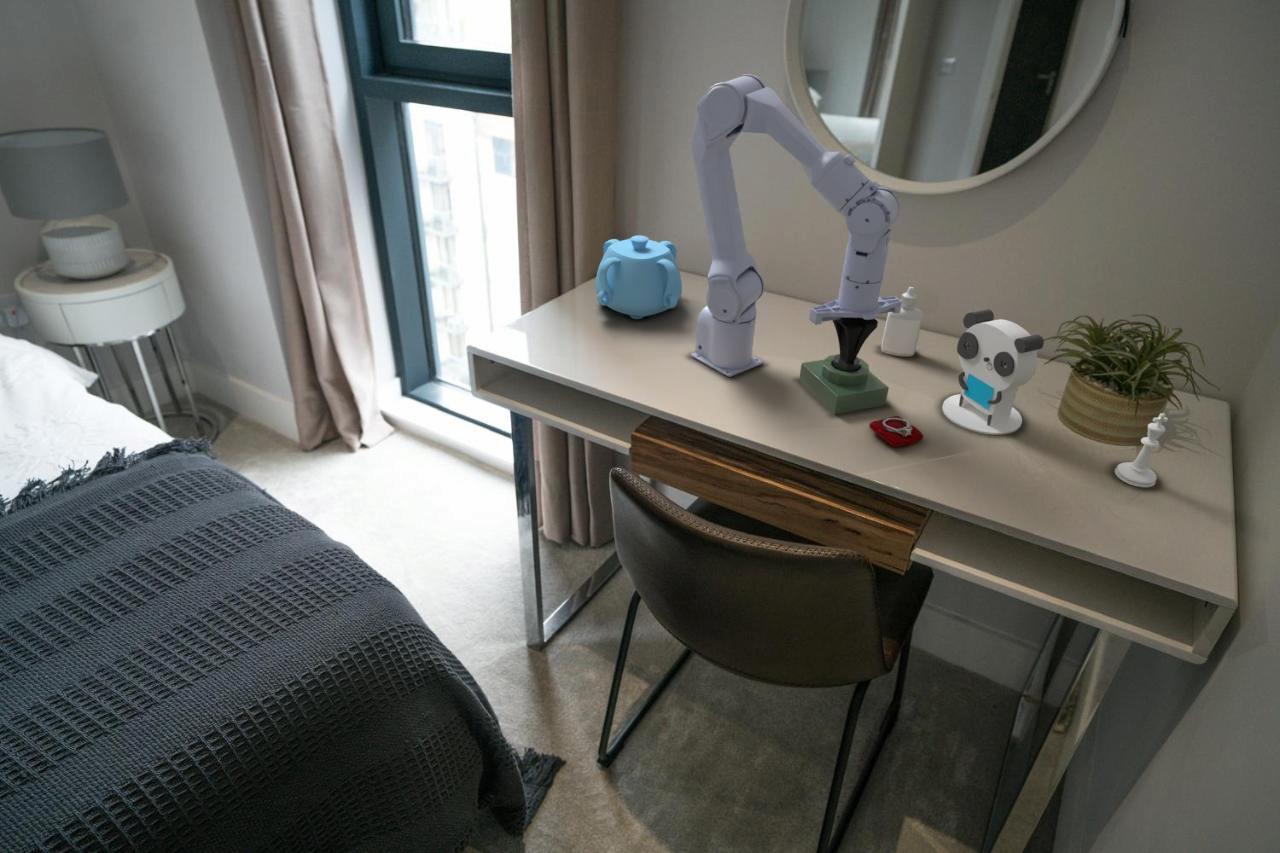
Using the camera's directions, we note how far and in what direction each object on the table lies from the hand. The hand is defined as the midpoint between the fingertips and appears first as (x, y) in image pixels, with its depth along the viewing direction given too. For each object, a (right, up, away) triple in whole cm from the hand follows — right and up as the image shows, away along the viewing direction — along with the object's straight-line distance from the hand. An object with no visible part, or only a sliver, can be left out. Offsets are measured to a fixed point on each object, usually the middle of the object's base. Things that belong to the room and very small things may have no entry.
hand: (847, 359), depth 121 cm
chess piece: (+35, -17, -14) cm, 42 cm away
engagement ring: (+5, -12, -7) cm, 15 cm away
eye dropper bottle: (+13, +2, +15) cm, 20 cm away
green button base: (0, -5, +3) cm, 6 cm away
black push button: (0, -2, +1) cm, 2 cm away
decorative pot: (-32, +13, +30) cm, 46 cm away
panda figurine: (+20, -9, -1) cm, 22 cm away
